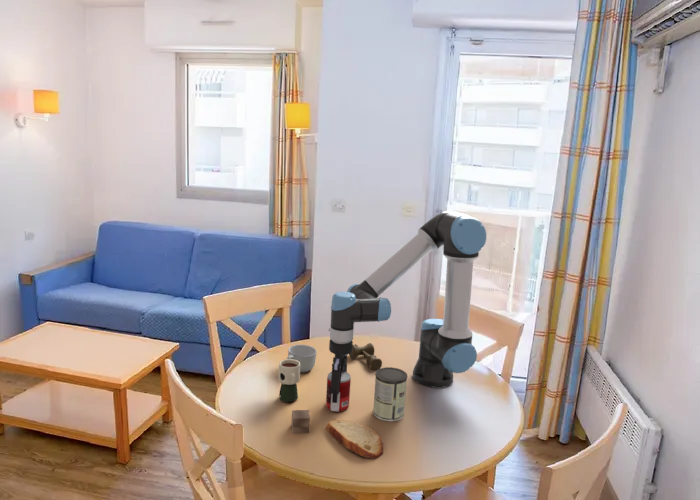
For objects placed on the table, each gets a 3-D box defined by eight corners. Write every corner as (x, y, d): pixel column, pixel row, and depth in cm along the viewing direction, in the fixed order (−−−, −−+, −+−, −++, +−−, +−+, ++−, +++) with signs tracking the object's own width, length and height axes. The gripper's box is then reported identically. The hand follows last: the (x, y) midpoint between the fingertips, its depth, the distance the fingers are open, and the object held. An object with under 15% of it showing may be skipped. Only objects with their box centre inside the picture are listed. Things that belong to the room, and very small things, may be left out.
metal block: (307, 424, 173) (308, 409, 172) (309, 433, 168) (309, 418, 167) (291, 425, 172) (292, 410, 171) (292, 433, 167) (293, 418, 166)
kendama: (364, 373, 212) (343, 352, 230) (387, 371, 216) (364, 350, 234) (366, 359, 211) (345, 338, 228) (388, 356, 215) (366, 337, 232)
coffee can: (377, 403, 188) (380, 364, 185) (407, 410, 185) (410, 370, 182) (368, 417, 179) (371, 377, 176) (399, 424, 176) (403, 383, 173)
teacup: (303, 361, 219) (304, 341, 217) (321, 370, 211) (322, 350, 210) (274, 370, 209) (275, 350, 208) (293, 380, 202) (293, 359, 200)
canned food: (350, 401, 188) (352, 371, 186) (347, 413, 181) (349, 382, 178) (327, 399, 189) (329, 369, 187) (324, 410, 181) (325, 379, 179)
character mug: (274, 393, 191) (275, 357, 189) (294, 390, 194) (295, 355, 191) (282, 408, 182) (283, 371, 179) (303, 405, 184) (304, 368, 181)
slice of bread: (327, 423, 175) (327, 412, 174) (384, 428, 173) (385, 417, 173) (319, 455, 157) (319, 443, 156) (382, 462, 156) (383, 450, 155)
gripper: (336, 327, 190) (333, 388, 195) (322, 350, 170) (319, 417, 175) (358, 330, 189) (354, 391, 194) (346, 353, 169) (342, 421, 174)
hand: (337, 404), depth 185 cm, fingers closed on canned food, 8 cm apart
